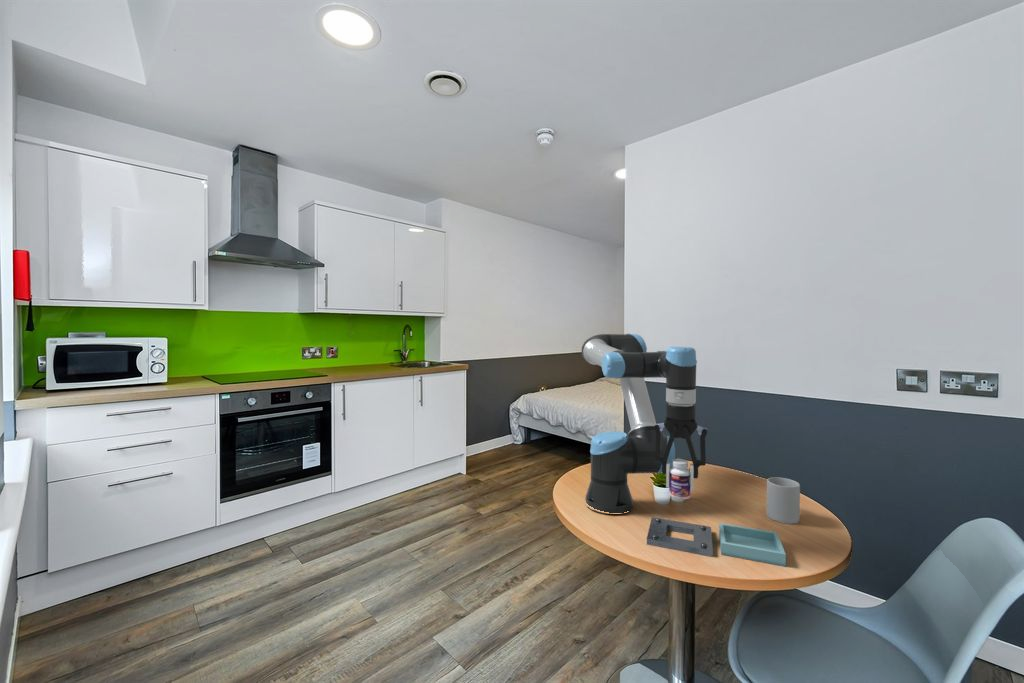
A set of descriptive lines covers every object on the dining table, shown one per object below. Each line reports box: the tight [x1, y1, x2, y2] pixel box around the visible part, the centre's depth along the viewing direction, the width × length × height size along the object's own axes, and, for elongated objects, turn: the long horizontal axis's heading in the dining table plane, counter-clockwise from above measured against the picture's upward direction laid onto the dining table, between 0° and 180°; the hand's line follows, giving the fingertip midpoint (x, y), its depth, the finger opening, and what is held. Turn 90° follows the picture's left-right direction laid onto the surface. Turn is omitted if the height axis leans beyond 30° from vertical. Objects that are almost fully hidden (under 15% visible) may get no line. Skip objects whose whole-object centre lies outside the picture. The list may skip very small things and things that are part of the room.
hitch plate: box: [646, 516, 714, 558], centre depth 117 cm, size 16×14×2 cm
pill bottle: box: [668, 458, 691, 500], centre depth 116 cm, size 5×5×10 cm
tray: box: [718, 522, 787, 567], centre depth 111 cm, size 14×12×3 cm
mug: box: [765, 476, 801, 525], centre depth 130 cm, size 12×8×11 cm
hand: (679, 487), depth 116 cm, fingers closed on pill bottle, 5 cm apart
